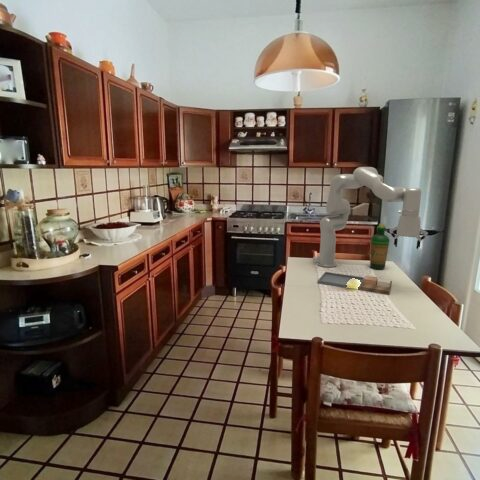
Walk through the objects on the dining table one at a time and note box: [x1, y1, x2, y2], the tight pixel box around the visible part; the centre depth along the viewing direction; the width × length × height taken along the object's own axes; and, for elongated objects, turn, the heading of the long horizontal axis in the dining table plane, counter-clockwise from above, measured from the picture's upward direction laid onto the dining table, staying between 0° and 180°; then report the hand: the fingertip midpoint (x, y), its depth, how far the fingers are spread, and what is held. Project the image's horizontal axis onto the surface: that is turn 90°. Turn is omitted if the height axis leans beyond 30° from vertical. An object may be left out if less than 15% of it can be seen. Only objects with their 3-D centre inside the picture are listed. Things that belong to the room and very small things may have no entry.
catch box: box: [316, 271, 365, 291], centre depth 188 cm, size 22×18×2 cm
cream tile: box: [377, 277, 392, 287], centre depth 178 cm, size 6×6×2 cm
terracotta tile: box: [364, 275, 378, 285], centre depth 181 cm, size 6×6×2 cm
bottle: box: [369, 223, 390, 271], centre depth 212 cm, size 11×11×28 cm
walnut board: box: [359, 276, 393, 296], centre depth 180 cm, size 14×18×2 cm
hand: (406, 247), depth 171 cm, fingers open, 9 cm apart
